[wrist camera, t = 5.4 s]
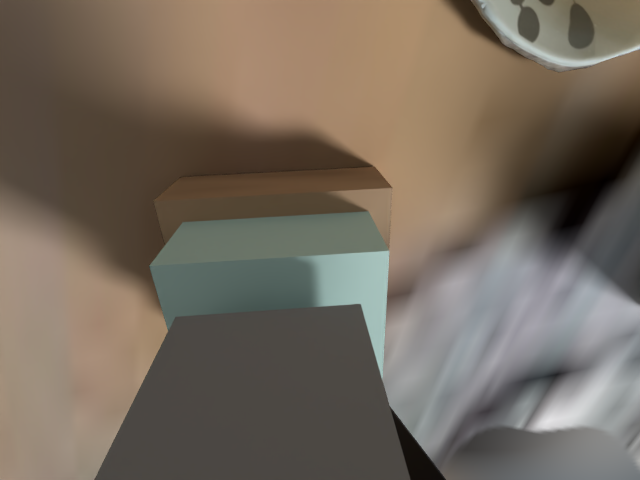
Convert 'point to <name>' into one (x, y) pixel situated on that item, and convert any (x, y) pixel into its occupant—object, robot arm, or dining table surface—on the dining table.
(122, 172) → the dining table surface
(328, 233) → the teal slab
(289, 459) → the charcoal block
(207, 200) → the tan flat block
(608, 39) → the salad plate
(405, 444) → the robot arm
